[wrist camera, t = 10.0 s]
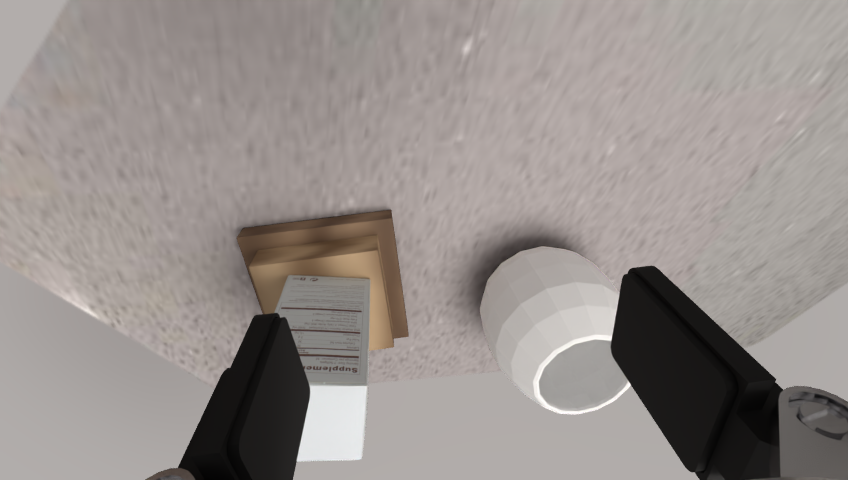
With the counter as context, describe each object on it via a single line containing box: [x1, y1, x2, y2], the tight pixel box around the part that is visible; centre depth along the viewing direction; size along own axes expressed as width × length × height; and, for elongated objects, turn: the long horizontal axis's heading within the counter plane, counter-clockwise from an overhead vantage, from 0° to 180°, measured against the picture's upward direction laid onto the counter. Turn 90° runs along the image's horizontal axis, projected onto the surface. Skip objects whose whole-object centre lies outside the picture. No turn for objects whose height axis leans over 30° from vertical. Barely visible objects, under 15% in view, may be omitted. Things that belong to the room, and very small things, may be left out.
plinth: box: [237, 210, 408, 351], centre depth 39 cm, size 14×14×5 cm
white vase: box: [480, 246, 631, 414], centre depth 38 cm, size 13×13×14 cm
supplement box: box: [274, 275, 370, 461], centre depth 31 cm, size 7×7×13 cm
